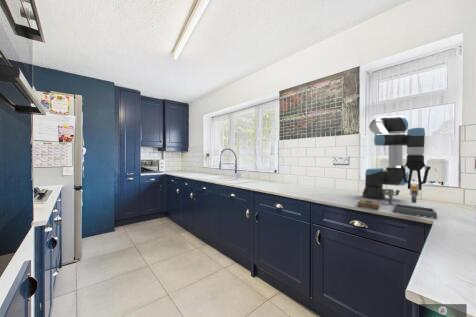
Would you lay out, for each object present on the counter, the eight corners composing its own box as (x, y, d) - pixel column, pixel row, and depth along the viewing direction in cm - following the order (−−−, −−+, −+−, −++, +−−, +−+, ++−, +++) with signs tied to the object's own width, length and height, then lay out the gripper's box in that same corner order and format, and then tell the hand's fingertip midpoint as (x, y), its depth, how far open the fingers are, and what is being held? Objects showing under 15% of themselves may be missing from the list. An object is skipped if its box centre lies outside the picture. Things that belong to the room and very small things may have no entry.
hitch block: (359, 203, 138) (360, 199, 138) (379, 206, 131) (379, 201, 131) (357, 206, 129) (357, 202, 129) (378, 209, 122) (378, 205, 122)
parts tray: (393, 208, 126) (394, 203, 126) (433, 213, 115) (433, 208, 115) (393, 212, 118) (394, 207, 118) (436, 218, 106) (436, 213, 106)
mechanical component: (400, 204, 136) (400, 190, 135) (383, 203, 138) (383, 189, 137) (397, 203, 139) (397, 189, 138) (380, 202, 141) (381, 188, 140)
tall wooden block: (411, 201, 119) (411, 184, 118) (416, 202, 117) (416, 185, 117) (411, 202, 115) (412, 185, 115) (416, 203, 113) (417, 186, 113)
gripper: (398, 154, 117) (397, 194, 118) (434, 154, 108) (433, 198, 108) (398, 154, 123) (397, 192, 124) (432, 154, 114) (431, 195, 114)
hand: (414, 195), depth 116 cm, fingers closed on tall wooden block, 2 cm apart
